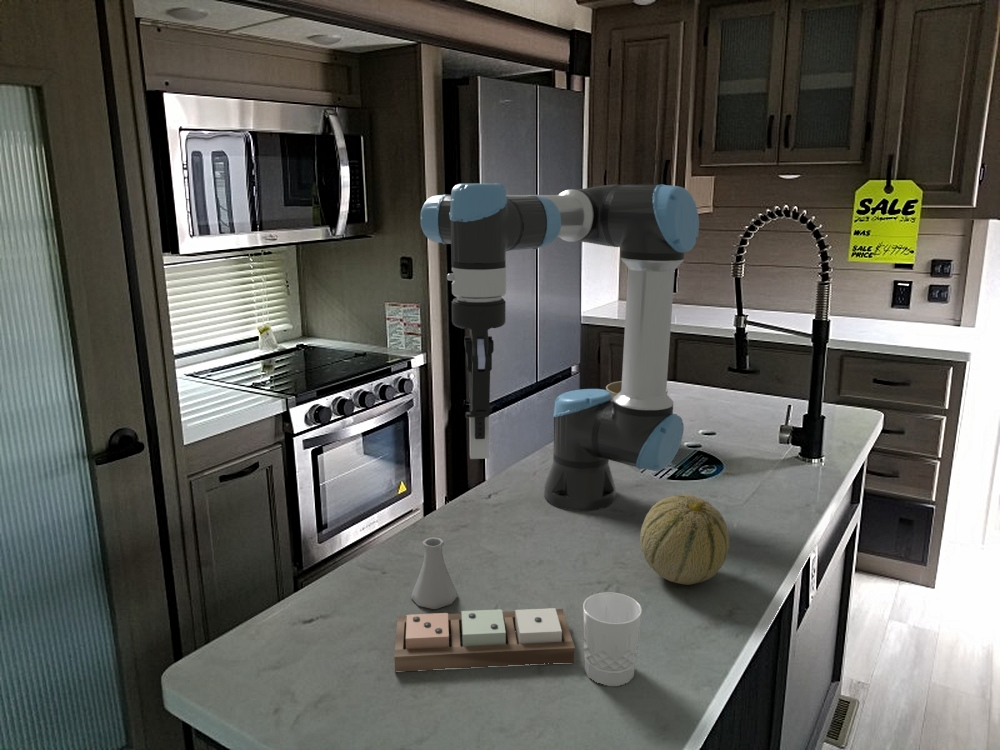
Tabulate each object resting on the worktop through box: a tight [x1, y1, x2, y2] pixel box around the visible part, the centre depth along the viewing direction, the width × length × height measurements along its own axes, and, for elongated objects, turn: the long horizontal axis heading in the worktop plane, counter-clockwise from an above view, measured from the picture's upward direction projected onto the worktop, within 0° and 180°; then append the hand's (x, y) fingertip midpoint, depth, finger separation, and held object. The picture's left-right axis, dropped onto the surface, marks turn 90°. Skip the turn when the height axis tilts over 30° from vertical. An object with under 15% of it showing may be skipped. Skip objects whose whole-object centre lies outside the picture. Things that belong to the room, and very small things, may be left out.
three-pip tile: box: [405, 612, 450, 649], centre depth 111 cm, size 6×6×3 cm
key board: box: [393, 608, 576, 673], centre depth 111 cm, size 10×25×2 cm, turn 95°
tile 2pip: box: [460, 608, 506, 647], centre depth 111 cm, size 6×6×3 cm
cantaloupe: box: [639, 493, 731, 586], centre depth 129 cm, size 15×15×15 cm
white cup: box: [582, 591, 643, 687], centre depth 105 cm, size 8×8×10 cm
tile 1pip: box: [514, 607, 562, 644], centre depth 112 cm, size 6×6×3 cm
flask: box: [410, 536, 459, 610], centre depth 123 cm, size 7×7×10 cm
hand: (479, 456), depth 113 cm, fingers closed
